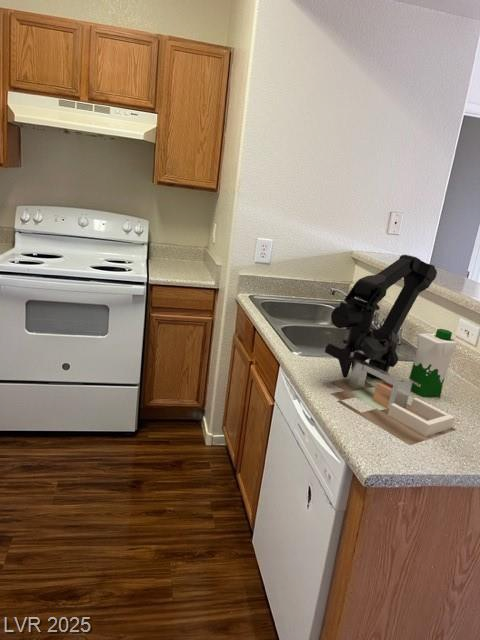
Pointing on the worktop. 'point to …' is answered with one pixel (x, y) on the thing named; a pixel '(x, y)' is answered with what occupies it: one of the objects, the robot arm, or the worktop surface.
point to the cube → (383, 393)
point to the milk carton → (431, 363)
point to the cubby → (434, 425)
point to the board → (381, 413)
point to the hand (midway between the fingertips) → (349, 376)
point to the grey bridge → (399, 386)
